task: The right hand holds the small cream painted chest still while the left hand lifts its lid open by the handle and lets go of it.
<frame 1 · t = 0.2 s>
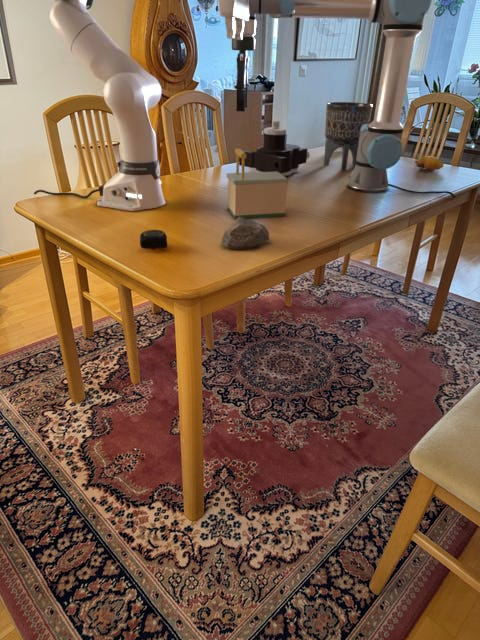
left hand: (234, 39, 124), 48 cm above the table, tool pointing down, fingers open, 8 cm apart
right hand: (242, 109, 155), 28 cm above the table, tool pointing down, fingers open, 13 cm apart
figurine: (340, 151, 246), on the table
lid: (256, 165, 139), point 15 cm above the table, hinge at 0.0°
tape measure: (155, 248, 118), on the table
rock: (247, 244, 122), on the table
toy: (427, 169, 210), on the table
mechanical component: (280, 173, 196), on the table
chest: (256, 212, 146), on the table
planter: (341, 167, 211), on the table
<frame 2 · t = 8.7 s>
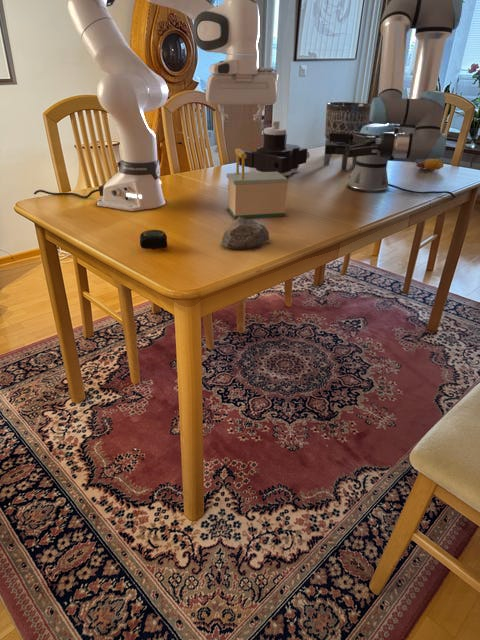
left hand: (241, 121, 132), 27 cm above the table, tool pointing down, fingers open, 8 cm apart
right hand: (327, 143, 152), 19 cm above the table, tool horizontal, fingers open, 13 cm apart
nothing on the table moved.
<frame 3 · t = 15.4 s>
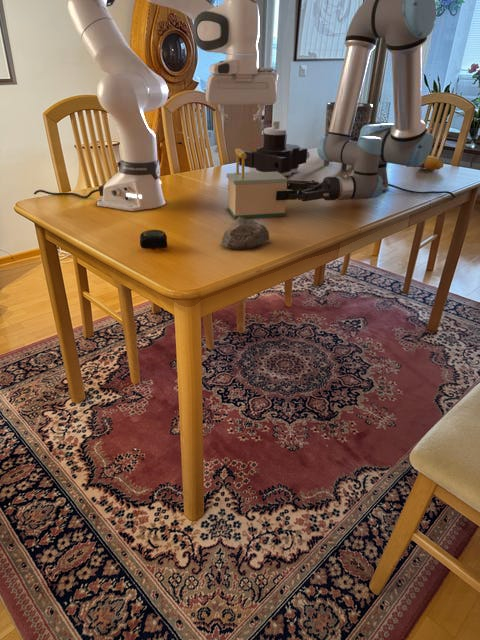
left hand: (241, 121, 132), 27 cm above the table, tool pointing down, fingers open, 8 cm apart
right hand: (271, 191, 144), 7 cm above the table, tool horizontal, fingers closed on chest, 10 cm apart
chest: (256, 212, 146), on the table, touching right hand
everything else where it was.
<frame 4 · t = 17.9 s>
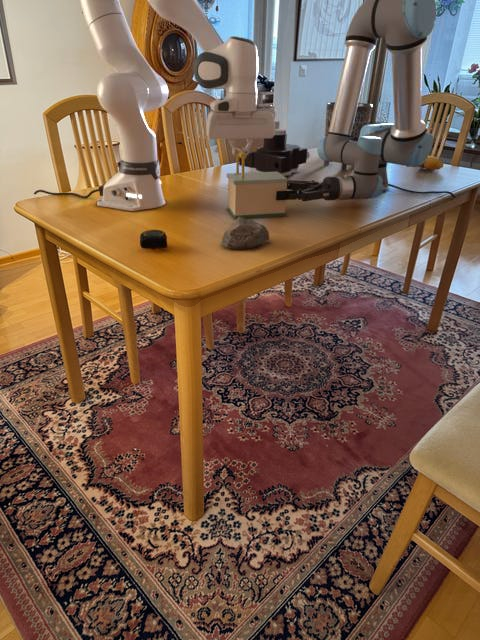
left hand: (240, 154, 136), 18 cm above the table, tool pointing down, fingers closed on lid, 2 cm apart
right hand: (271, 191, 144), 7 cm above the table, tool horizontal, fingers closed on chest, 10 cm apart
lid: (256, 165, 139), point 15 cm above the table, hinge at -0.1°, touching left hand
chest: (256, 212, 146), on the table, touching right hand
everything else where it was.
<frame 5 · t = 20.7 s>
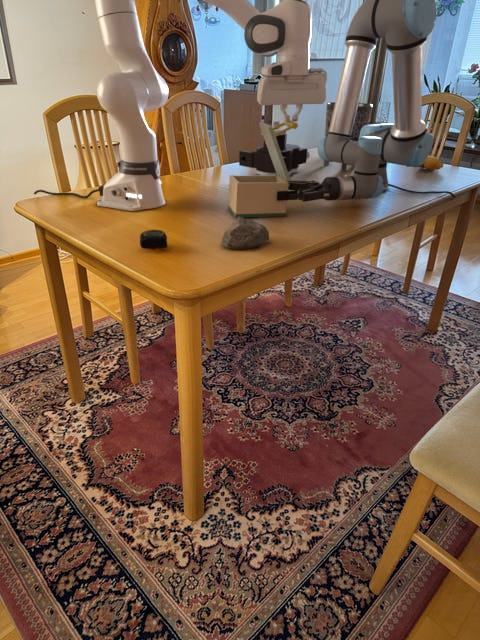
left hand: (290, 121, 135), 27 cm above the table, tool pointing down, fingers closed on lid
right hand: (272, 191, 144), 7 cm above the table, tool horizontal, fingers closed on chest, 10 cm apart
lid: (285, 146, 138), point 20 cm above the table, hinge at 63.8°, touching left hand
chest: (256, 212, 146), on the table, touching right hand
everything else where it was.
when the right hand's fingers open (7 cm above the table, at t = 25.2 s): chest stays where it is, on the table.
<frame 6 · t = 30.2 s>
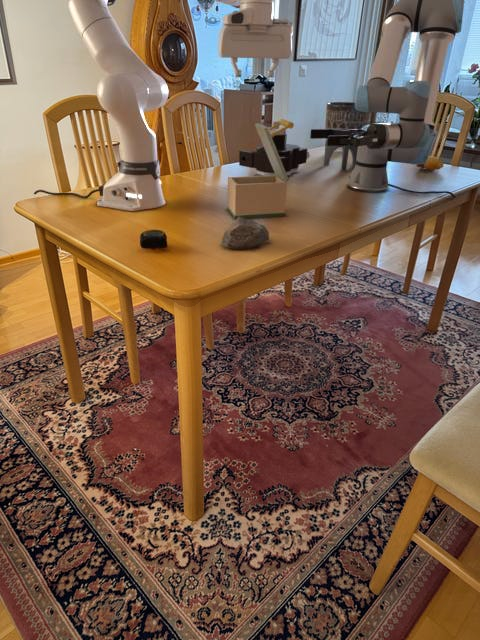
left hand: (254, 77, 127), 39 cm above the table, tool pointing down, fingers open, 8 cm apart
right hand: (318, 137, 139), 23 cm above the table, tool horizontal, fingers open, 13 cm apart
lid: (282, 145, 138), point 20 cm above the table, hinge at 63.1°
chest: (255, 212, 146), on the table
everything else where it was.
at the end: lid at +63° (first picture: +0°); the left hand is holding nothing; the right hand is holding nothing; chest tilted 0°; chest never tilted more than 2° during the clip; chest moved 0.1 cm from its start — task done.
